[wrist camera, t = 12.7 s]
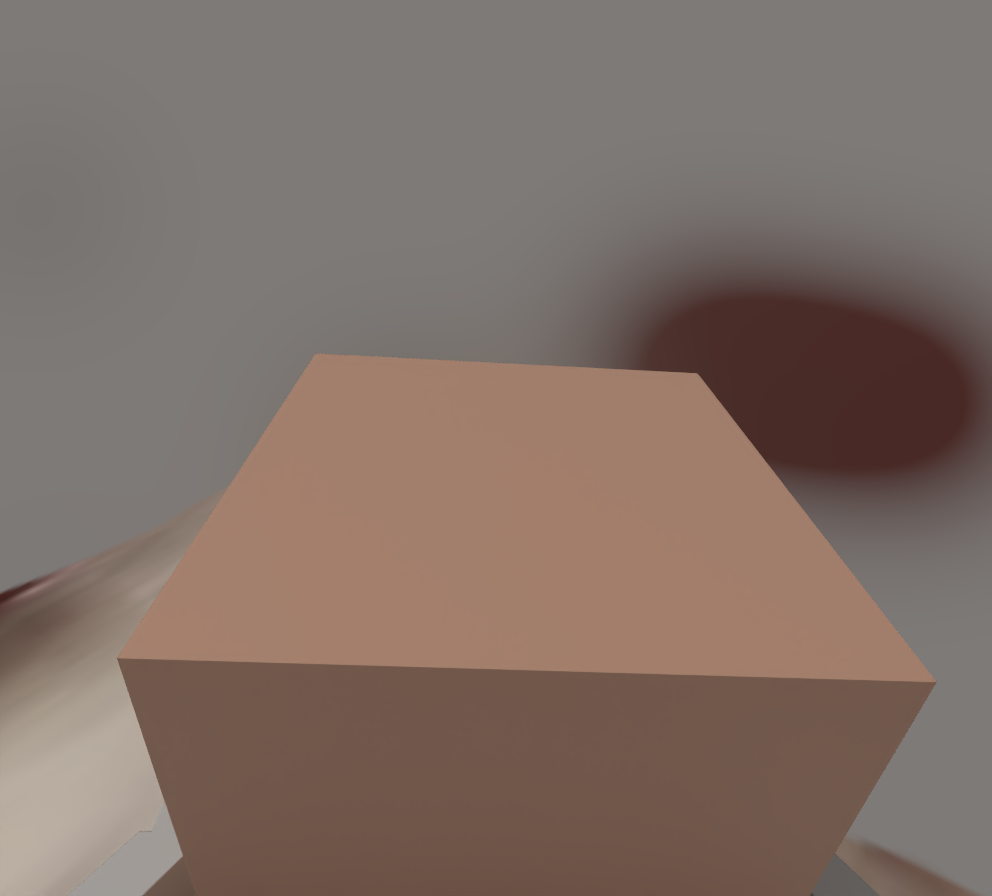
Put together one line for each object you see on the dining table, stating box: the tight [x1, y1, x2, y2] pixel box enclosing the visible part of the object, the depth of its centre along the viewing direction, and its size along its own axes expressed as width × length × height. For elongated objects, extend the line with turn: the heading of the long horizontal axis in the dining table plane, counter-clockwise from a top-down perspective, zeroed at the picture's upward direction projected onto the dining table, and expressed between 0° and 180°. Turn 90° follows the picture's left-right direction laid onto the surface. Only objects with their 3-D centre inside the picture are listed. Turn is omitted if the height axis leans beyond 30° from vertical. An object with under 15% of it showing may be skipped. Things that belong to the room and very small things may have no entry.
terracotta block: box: [117, 354, 936, 896], centre depth 9 cm, size 5×5×12 cm
